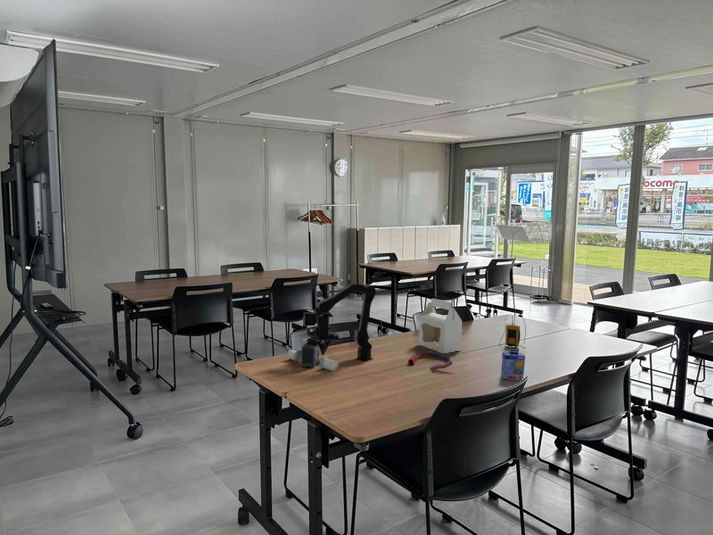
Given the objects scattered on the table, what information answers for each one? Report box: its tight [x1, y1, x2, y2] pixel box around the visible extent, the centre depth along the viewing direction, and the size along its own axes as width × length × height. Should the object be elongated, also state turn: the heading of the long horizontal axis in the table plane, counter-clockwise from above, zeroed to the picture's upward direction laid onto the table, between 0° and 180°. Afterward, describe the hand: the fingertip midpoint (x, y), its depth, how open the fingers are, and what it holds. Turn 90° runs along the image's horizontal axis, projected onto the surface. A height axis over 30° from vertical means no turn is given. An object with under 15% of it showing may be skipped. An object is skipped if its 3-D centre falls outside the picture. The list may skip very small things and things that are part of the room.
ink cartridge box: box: [500, 349, 526, 381], centre depth 246 cm, size 10×6×14 cm, turn 88°
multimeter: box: [498, 313, 527, 348], centre depth 306 cm, size 15×10×20 cm
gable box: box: [418, 297, 463, 354], centre depth 297 cm, size 22×13×28 cm, turn 33°
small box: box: [301, 342, 320, 369], centre depth 260 cm, size 11×6×10 cm, turn 168°
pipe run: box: [286, 349, 338, 372], centre depth 261 cm, size 30×6×6 cm, turn 52°
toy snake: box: [407, 350, 457, 375], centre depth 265 cm, size 31×22×5 cm
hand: (322, 354), depth 268 cm, fingers closed
